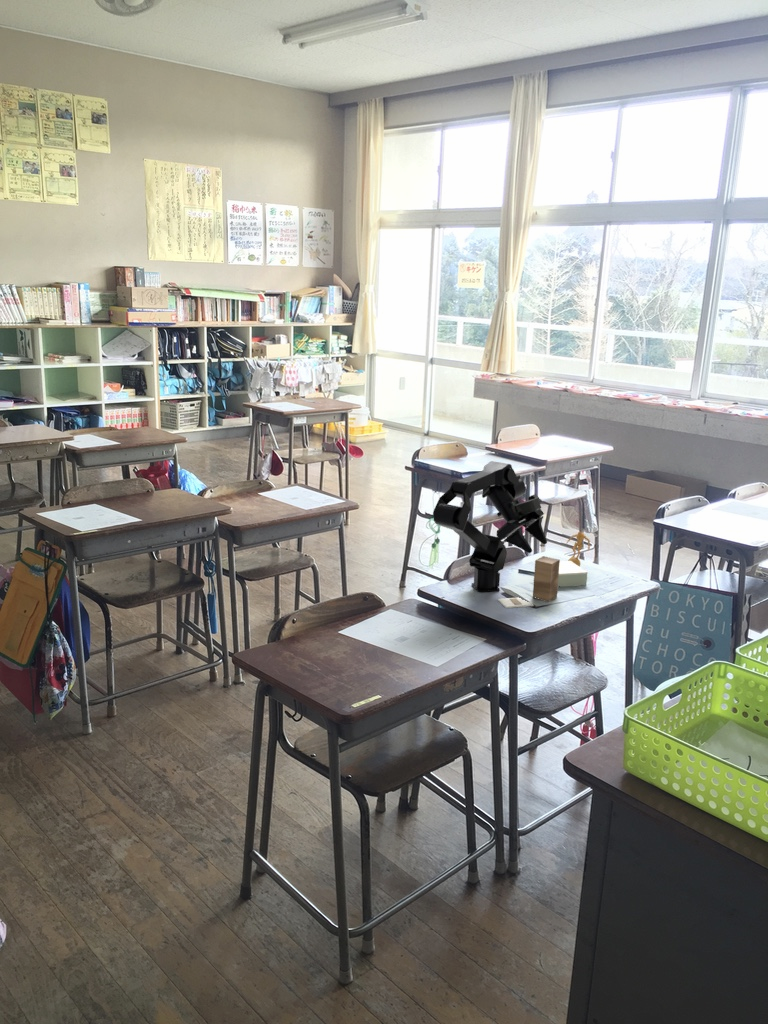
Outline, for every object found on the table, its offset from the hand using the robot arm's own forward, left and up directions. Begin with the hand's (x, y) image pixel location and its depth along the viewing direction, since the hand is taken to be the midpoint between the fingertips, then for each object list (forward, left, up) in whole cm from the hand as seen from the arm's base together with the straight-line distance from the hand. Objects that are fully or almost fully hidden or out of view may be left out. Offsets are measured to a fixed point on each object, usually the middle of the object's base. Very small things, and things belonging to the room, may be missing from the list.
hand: (538, 547), depth 228 cm
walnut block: (+1, -3, -14) cm, 14 cm away
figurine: (+21, +19, -14) cm, 32 cm away
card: (-9, -6, -14) cm, 17 cm away
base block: (+12, +10, -14) cm, 21 cm away
